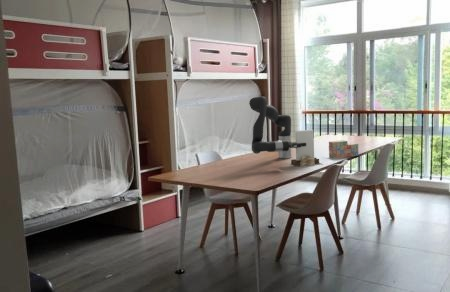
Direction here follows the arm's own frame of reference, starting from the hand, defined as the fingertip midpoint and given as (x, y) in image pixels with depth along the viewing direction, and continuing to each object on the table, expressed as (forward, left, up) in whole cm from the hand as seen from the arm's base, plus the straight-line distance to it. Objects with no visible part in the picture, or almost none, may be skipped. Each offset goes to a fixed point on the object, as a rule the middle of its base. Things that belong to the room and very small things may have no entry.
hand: (305, 144), depth 300 cm
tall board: (0, 0, -12) cm, 13 cm away
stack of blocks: (+18, +41, -15) cm, 48 cm away
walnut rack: (+1, -2, -15) cm, 15 cm away
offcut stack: (+3, -5, -13) cm, 15 cm away
